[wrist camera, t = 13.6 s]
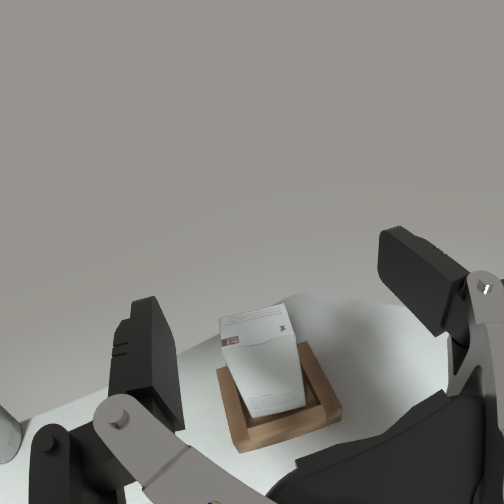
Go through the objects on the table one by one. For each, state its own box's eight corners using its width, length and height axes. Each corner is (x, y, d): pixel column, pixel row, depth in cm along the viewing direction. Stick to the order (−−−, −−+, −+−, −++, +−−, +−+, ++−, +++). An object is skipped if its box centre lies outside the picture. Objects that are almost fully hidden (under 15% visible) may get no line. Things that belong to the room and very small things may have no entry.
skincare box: (298, 377, 32) (286, 297, 26) (307, 409, 29) (299, 333, 23) (245, 389, 32) (217, 313, 26) (250, 422, 28) (219, 350, 22)
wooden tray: (239, 453, 26) (232, 443, 25) (222, 383, 35) (216, 369, 33) (340, 420, 27) (342, 407, 26) (308, 357, 36) (306, 341, 35)
